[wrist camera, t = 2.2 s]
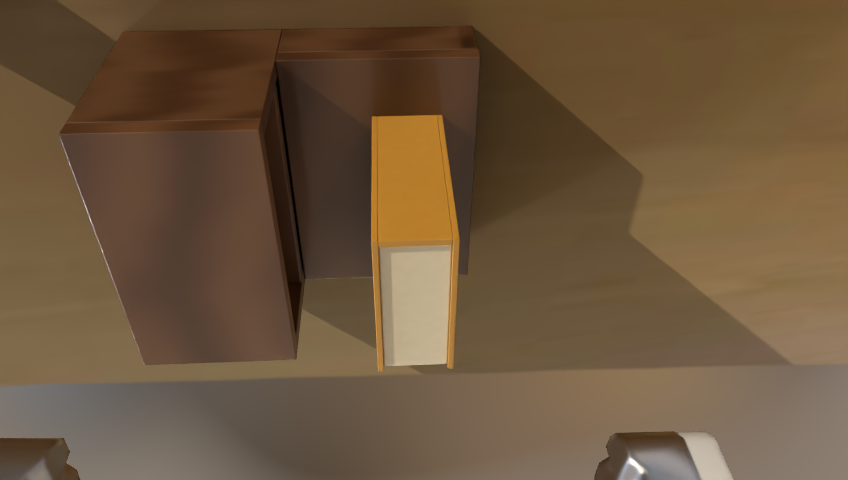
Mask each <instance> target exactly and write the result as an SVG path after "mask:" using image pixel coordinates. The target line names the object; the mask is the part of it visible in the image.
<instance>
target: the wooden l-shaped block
mask: <svg viewBox="0 0 848 480" xmlns="http://www.w3.org/2000/svg"><path fill="white" fill-rule="evenodd" d="M480 59H481V57H480V53H479V49H478V45H477V41H476V37H475V33H474V29H473V27H472V26H469V27H410V28H348V29H287V30H283V31H282V29H269V30H207V31H145V32H123V33H122V34H121V36H120V38H119V39H118V41H117V42H116V44H115V45H114V47H113V49H112V50H111V52H110V53H109V55H108V57H107V58H106V60H105V61H104V63H103V65H102V66H101V68H100V69H99V71H98V72H97V74H96V76H95V77H94V79H93V80H92V82H91V84H90V85H89V87H88V88H87V90H86V92H85V93H84V95H83V96H82V98H81V99H80V101H79V103H78V104H77V106H76V107H75V109H74V111H73V112H72V114H71V115H70V117H69V119H68V120H67V122H66V124H65V125H64V127H63V128H62V130H61V131H60V133H59V137H60V139H61V142H62V145H63V148H64V150H65V153H66V156H67V158H68V161H69V164H70V166H71V169H72V172H73V174H74V177H75V180H76V182H77V185H78V188H79V191H80V193H81V196H82V199H83V201H84V204H85V207H86V209H87V212H88V215H89V217H90V220H91V223H92V225H93V228H94V231H95V233H96V236H97V239H98V242H99V244H100V247H101V250H102V252H103V255H104V258H105V260H106V263H107V266H108V268H109V271H110V274H111V276H112V279H113V282H114V284H115V287H116V290H117V293H118V295H119V298H120V301H121V303H122V306H123V309H124V311H125V314H126V317H127V319H128V322H129V325H130V327H131V330H132V333H133V335H134V338H135V341H136V344H137V346H138V349H139V352H140V354H141V357H142V360H143V362H144V365H160V364H188V363H215V362H243V361H270V360H296V358H297V349H298V339H299V330H300V321H301V311H302V302H303V293H304V283H305V279H338V278H370V277H373V265H372V246H371V193H372V116H377V117H378V116H417V115H442V116H443V123H444V131H445V138H446V145H447V152H448V159H449V166H450V173H451V180H452V187H453V194H454V201H455V208H456V216H457V223H458V230H459V237H460V245H459V265H458V275H465V274H467V272H468V256H469V239H470V223H471V207H472V190H473V174H474V157H475V141H476V125H477V108H478V92H479V75H480ZM277 77H278V85H279V92H280V99H281V107H282V114H283V121H284V129H285V136H286V143H287V150H288V158H289V165H290V172H291V180H292V187H293V194H294V202H295V209H296V216H297V223H298V231H299V232H297V231H296V224H295V217H294V210H293V202H292V195H291V188H290V181H289V174H288V167H287V159H286V152H285V145H284V138H283V131H282V124H281V116H280V109H279V102H278V95H277V88H276V80H277Z"/></svg>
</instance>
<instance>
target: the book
mask: <svg viewBox="0 0 848 480" xmlns="http://www.w3.org/2000/svg"><path fill="white" fill-rule="evenodd" d="M459 245H460V237H459V230H458V223H457V216H456V208H455V201H454V194H453V187H452V180H451V173H450V166H449V159H448V152H447V145H446V138H445V131H444V123H443V116H442V115H417V116H378V117H377V116H372V193H371V246H372V265H373V283H374V302H375V320H376V339H377V358H378V371H384V366H400V365H427V364H447V365H448V368H453V366H454V346H455V326H456V305H457V285H458V265H459Z"/></svg>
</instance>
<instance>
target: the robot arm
mask: <svg viewBox="0 0 848 480" xmlns="http://www.w3.org/2000/svg"><path fill="white" fill-rule="evenodd" d="M606 448H607V451H608V455H609V457H608V458H606V459H605V460H603V461H601V462H600V463H599V465H598V468H597V470H596V473H595V478H594V480H734V478H733V476H732V474H731V472H730V470H729V468H728V465H727V463H726V461H725V459H724V457H723V454H722V452H721V450H720V448H719V446H718V444H717V441H716V439H715V438H714V437H713V436H712V435H711V434H710V433H707V432H677V433H675V432H639V433H638V432H636V433H615V434H613V435H612V436H610V439H609V441H608V443H607V446H606ZM69 453H70V451H69V449H68V447H67V444H66V442H65V440H64V438H0V480H80V478H79V475H78V472H77V470H76V469H75V468H73V467H72V466H70V465H68V464H67V463H66V461H67V459H68V456H69Z"/></svg>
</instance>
